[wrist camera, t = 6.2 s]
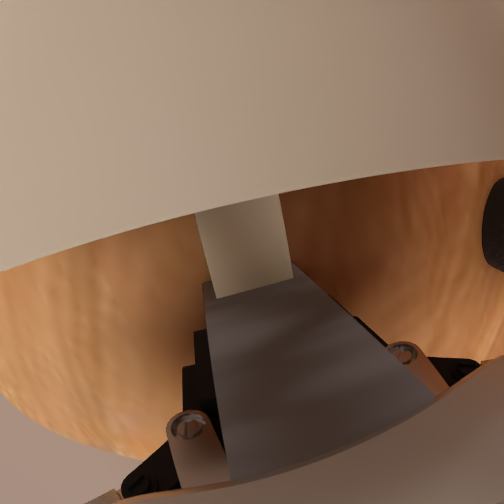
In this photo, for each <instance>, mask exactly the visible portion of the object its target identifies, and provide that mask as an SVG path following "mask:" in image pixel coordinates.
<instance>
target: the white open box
mask: <svg viewBox="0 0 504 504" xmlns="http://www.w3.org/2000/svg"><path fill="white" fill-rule="evenodd" d="M494 160H504V0H0V272H2V271H5V270H8V269H11V268H13V267H16V266H19V265H22V264H25V263H28V262H30V261H33V260H36V259H39V258H42V257H45V256H48V255H51V254H54V253H57V252H60V251H63V250H66V249H69V248H73V247H76V246H79V245H82V244H85V243H89V242H92V241H95V240H98V239H102V238H105V237H109V236H112V235H115V234H119V233H122V232H126V231H129V230H133V229H136V228H140V227H143V226H147V225H151V224H154V223H158V222H162V221H166V220H169V219H173V218H177V217H181V216H185V215H189V214H193V213H197V212H201V211H205V210H209V209H213V208H217V207H221V206H226V205H230V204H234V203H239V202H243V201H247V200H252V199H256V198H261V197H265V196H270V195H275V194H280V193H284V192H289V191H294V190H299V189H304V188H309V187H314V186H320V185H325V184H330V183H336V182H341V181H347V180H352V179H358V178H364V177H370V176H376V175H383V174H389V173H396V172H402V171H409V170H416V169H423V168H431V167H439V166H447V165H455V164H464V163H473V162H483V161H494Z"/></svg>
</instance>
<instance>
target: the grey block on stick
mask: <svg viewBox="0 0 504 504" xmlns="http://www.w3.org/2000/svg"><path fill="white" fill-rule="evenodd" d="M194 214H195V218H196V222H197V226H198V230H199V234H200V238H201V242H202V246H203V250H204V254H205V257H206V261H207V265H208V269H209V272H210V276H211V280H212V281H211V282H207V283H203V284H202V290H203V300H204V309H205V318H206V326H207V334H208V342H209V350H210V358H211V365H212V372H213V379H214V386H215V392H216V399H217V405H218V411H219V417H220V423H221V429H222V435H223V440H224V446H225V451H226V457H227V462H228V467H229V472H230V477H231V481H233V480H238V479H243V478H247V477H251V476H255V475H259V474H263V473H267V472H270V471H274V470H277V469H281V468H284V467H287V466H290V465H293V464H297V463H300V462H303V461H306V460H308V459H311V458H314V457H317V456H319V455H322V454H325V453H327V452H330V451H332V450H335V449H337V448H340V447H342V446H345V445H347V444H349V443H352V442H354V441H356V440H358V439H360V438H363V437H365V436H367V435H369V434H371V433H373V432H375V431H377V430H379V429H381V428H383V427H385V426H387V425H389V424H391V423H393V422H395V421H396V420H398V419H400V418H402V417H404V416H406V415H407V414H409V413H411V412H413V411H414V410H416V409H418V408H419V407H421V406H423V405H424V404H426V403H427V402H429V401H431V400H432V399H434V398H435V397H436V396H435V395H434V394H433V393H432V392H431V391H430V390H429V389H428V388H427V387H426V386H425V385H424V384H423V383H422V382H421V381H420V380H419V379H418V378H417V377H416V376H415V375H414V374H413V373H411V372H410V371H409V370H408V369H407V368H406V367H405V366H404V365H403V364H402V363H401V362H400V361H399V360H398V359H397V358H396V357H395V356H394V355H392V354H391V353H390V352H389V351H388V350H387V349H386V348H385V347H384V346H383V345H382V344H381V343H380V342H379V341H378V340H377V339H375V338H374V337H373V336H372V335H371V334H370V333H369V332H368V331H367V330H366V329H365V328H364V327H363V326H361V325H360V324H359V323H358V322H357V321H356V320H355V319H354V318H353V317H352V316H351V315H350V314H348V313H347V312H346V311H345V310H344V309H343V308H342V307H341V306H340V305H339V304H338V303H337V302H335V301H334V300H333V299H332V298H331V297H330V296H329V295H328V294H327V293H326V292H324V291H323V290H322V289H321V288H320V287H319V286H318V285H317V284H316V283H315V282H313V281H312V280H311V279H310V278H309V277H308V276H307V275H306V274H305V273H303V272H302V271H301V270H300V269H299V268H298V267H297V266H296V265H295V264H293V263H292V262H291V260H290V254H289V248H288V242H287V237H286V231H285V226H284V220H283V215H282V209H281V204H280V199H279V194H275V195H270V196H265V197H261V198H256V199H252V200H247V201H243V202H239V203H234V204H230V205H226V206H221V207H217V208H213V209H209V210H205V211H201V212H197V213H194Z"/></svg>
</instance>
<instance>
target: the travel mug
mask: <svg viewBox="0 0 504 504" xmlns="http://www.w3.org/2000/svg"><path fill="white" fill-rule="evenodd" d="M482 243H483V251H484V255H485V258H486V260H487V262H488V263H489V264H490V265H491V266H493V267H494V268H496V269H498V270H500V271H502V272H504V178H503V179H500V180H499V181H498V182H497V183H496V184H495V185H494V187H493V189H492V190H491V193H490V195H489V198H488V201H487V204H486V208H485V213H484V219H483V229H482Z"/></svg>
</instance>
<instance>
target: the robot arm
mask: <svg viewBox="0 0 504 504" xmlns="http://www.w3.org/2000/svg"><path fill="white" fill-rule="evenodd" d="M328 295H329V294H328ZM329 296H330V295H329ZM330 297H331V296H330ZM331 298H332V299H333V300H334V301H335V302H337V301H336V300H335V299H334V298H333V297H331ZM337 303H338V302H337ZM338 304H339V303H338ZM339 305H340V304H339ZM340 306H341V305H340ZM341 307H342V306H341ZM342 308H343V307H342ZM343 309H344V310H345V311H346V312H347V313H348V314H350V313H349V312H348V311H347V310H346V309H345V308H343ZM350 315H351V314H350ZM351 316H352V315H351ZM352 317H353V316H352ZM353 318H354V319H355V320H356V321H357V322H358V323H359V324H360V325H361V326H363V327H364V328H365V329H366V330H367V331H368V332H369V333H370V334H371V335H372V336H373V337H374V338H375V339H377V340H378V341H379V342H380V343H381V344H382V345H383V346H384V347H385V348H386V349H387V350H388V351H389V352H390V353H391V354H392V355H394V356H395V357H396V358H397V359H398V360H399V361H400V362H401V363H402V364H403V365H404V366H405V367H406V368H407V369H408V370H409V371H410V372H411V373H413V374H414V375H415V376H416V377H417V378H418V379H419V380H420V381H421V382H422V383H423V384H424V385H425V386H426V387H427V388H428V389H429V390H430V391H431V392H432V393H433V394H434V395H435V396H436V397H435V398H434V399H432V400H431V401H429V402H427V403H426V404H424V405H423V406H421V407H419V408H418V409H416V410H414V411H413V412H411V413H409V414H407V415H406V416H404V417H402V418H400V419H398V420H396V421H395V422H393V423H391V424H389V425H387V426H385V427H383V428H381V429H379V430H377V431H375V432H373V433H371V434H369V435H367V436H365V437H363V438H360V439H358V440H356V441H354V442H352V443H349V444H347V445H345V446H342V447H340V448H337V449H335V450H332V451H330V452H327V453H325V454H322V455H319V456H317V457H314V458H311V459H308V460H306V461H303V462H300V463H297V464H293V465H290V466H287V467H284V468H281V469H277V470H274V471H270V472H267V473H263V474H259V475H255V476H251V477H247V478H243V479H238V480H233V481H231V477H230V472H229V467H228V462H227V457H226V451H225V446H224V440H223V435H222V429H221V423H220V417H219V411H218V405H217V399H216V392H215V386H214V379H213V372H212V365H211V358H210V350H209V342H208V334H207V329H203V330H199V331H195V332H194V350H195V364H194V365H190V366H185V367H183V369H182V389H183V412H180V413H178V414H176V415H175V416H174V417H172V418H171V419H170V421H169V422H168V424H167V427H166V434H167V438H168V440H167V441H166V442H165V443H164V444H163V445H162V446H161V447H160V448H159V449H158V450H156V451H155V452H154V453H153V454H152V455H151V456H150V457H149V458H147V459H146V460H145V461H144V462H143V463H142V464H141V465H139V466H138V467H137V468H136V469H135V470H134V471H132V472H131V473H130V474H129V475H128V476H127V477H126V478H125V479H124V480H123V483H122V485H121V489H119V490H117V491H116V490H114V489H112V490H110V491H109V492H107V493H105V494H103V495H101V496H99V497H97V498H95V499H93V500H91V501H89V502H87V503H85V504H504V355H502V356H499V357H497V358H495V359H492V360H485V361H481V363H480V364H479V363H478V362H476V361H474V360H472V359H463V358H439V357H426V355H425V354H424V353H423V352H422V350H421V349H420V348H419V347H418V346H417V345H416V344H413V343H411V342H406V341H399V342H395V343H392V344H390V345H388V344H387V343H385V342H384V341H383V340H382V339H381V338H380V337H379V336H378V335H377V334H376V333H375V332H374V331H372V330H371V329H370V328H369V327H368V326H367V325H366V324H365V323H364V322H363V321H361V320H360V319H359V318H358V317H356V316H354V317H353Z"/></svg>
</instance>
